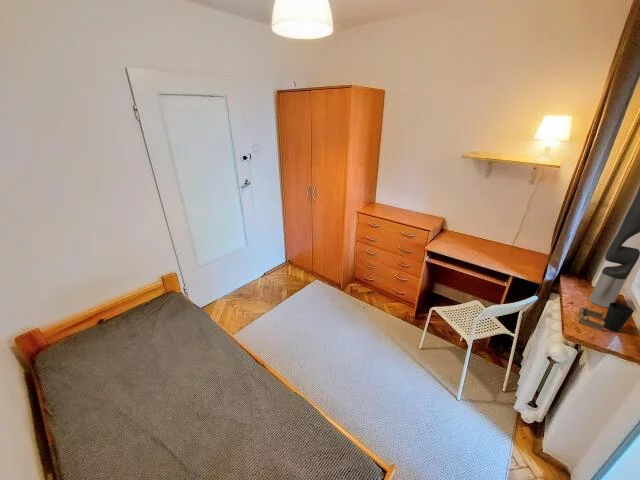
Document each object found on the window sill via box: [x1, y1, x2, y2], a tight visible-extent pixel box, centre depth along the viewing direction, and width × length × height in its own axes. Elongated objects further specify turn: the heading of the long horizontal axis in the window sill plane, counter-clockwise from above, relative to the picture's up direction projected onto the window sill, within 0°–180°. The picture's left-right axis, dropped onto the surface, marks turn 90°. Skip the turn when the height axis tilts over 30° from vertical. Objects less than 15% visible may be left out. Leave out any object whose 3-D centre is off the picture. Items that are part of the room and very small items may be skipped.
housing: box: [577, 305, 605, 332], centre depth 133 cm, size 13×8×4 cm, turn 138°
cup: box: [603, 301, 635, 333], centre depth 127 cm, size 8×8×12 cm
